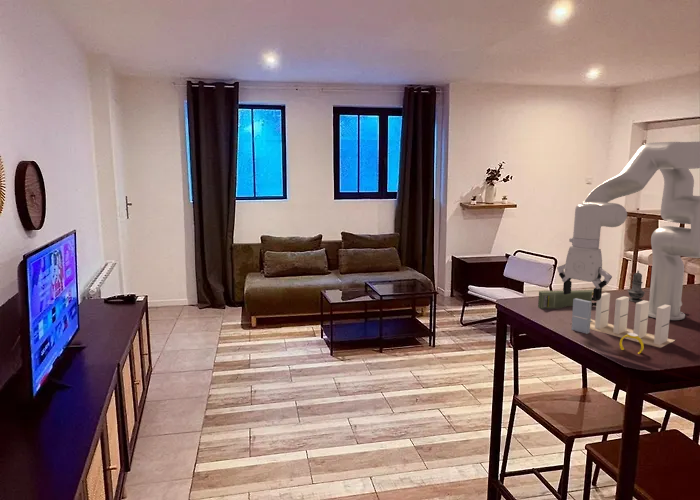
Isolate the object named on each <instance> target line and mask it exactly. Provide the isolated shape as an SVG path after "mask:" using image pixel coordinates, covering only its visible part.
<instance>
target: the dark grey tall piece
mask: <svg viewBox="0 0 700 500" xmlns="http://www.w3.org/2000/svg"><path fill="white" fill-rule="evenodd" d="M642 279H643V274H642V273H640V272H639V270H637V271H636V272H635V273H634V274H633V277H632V281H631V283H632V288H631V289H627V292H628V295H629V296H628V297H629V302H632V303H638V302H640V301H643V299H642V298H643V297H644V295H645V294H646V292H645V291H643V290H642V286H643V285H642V284H643V281H642Z"/></svg>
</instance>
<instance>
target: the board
mask: <svg viewBox="0 0 700 500" xmlns="http://www.w3.org/2000/svg"><path fill="white" fill-rule="evenodd" d="M570 325H572V322H571V323H570ZM613 329H614V324H612V323H608V326H606V327H604V328H601V329H597V328H595V319H592V318H591V321H590V331H595V332H598V333H602V334H603V333H604V334H607V335H610V336H614V337H618V338H620V339H621V338H622V337H623V336H625V335H627V333H633V331H634V329H632V328H628V327H627V331H624V332H622V333H620V334H617V333H613ZM654 336H655V334H652V333H648V332H647V334H646V336H644V337H642V338H641V340H642V341H643V344H644V345H648V346H651V347H654V348H658V349H662V348H663V347H665V346H667V345H669V344H671V343H673V342H675V341H676V339H672V338H669V337H668V341H666V342H664V343H662V344H660V345H659V344H655V343H654ZM624 339H626V340H629V341H633V342H637V343H640V342H639V341H638V340H637V339H636V338H630V337H625V338H624Z"/></svg>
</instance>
